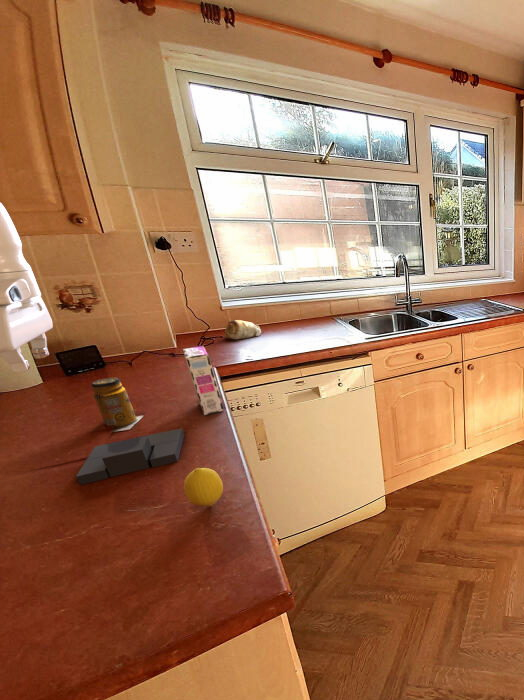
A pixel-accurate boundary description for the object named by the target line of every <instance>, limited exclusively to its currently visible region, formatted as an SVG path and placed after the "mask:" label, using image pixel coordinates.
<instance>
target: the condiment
mask: <svg viewBox="0 0 524 700" xmlns="http://www.w3.org/2000/svg"><path fill="white" fill-rule="evenodd" d="M91 387H92V390H93V398H94V400H95V402H96V405H97V407H98V410H99V413H100V415H101V417H102V420H103V422H104V425H106V426H107V427H114V428H112V430H111V433H117V432H121V431H128V430H131V429H132V428H133V427H134V426H135V425H136V424H137V423H138V422H139V421H140V420H141V419H142V418H144V415H136V413H135V411H134V408H133V406H132V403H131V400H130V398H129V395H128V391H127V390H126V388H125V387H124V386H123V384H122V382H121V380H120V378H119V377H107V378H106V377H105V378H101V379H98V380H95V381H93V382H92V383H91Z"/></svg>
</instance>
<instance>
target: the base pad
mask: <svg viewBox="0 0 524 700" xmlns="http://www.w3.org/2000/svg"><path fill="white" fill-rule="evenodd" d="M145 437H148V439H149V442H150V444H151V447H152V449H153V452H152V454H151V457H150V462H151V465H150V466H151V467H152V468H157V467H161V466H166V465H169V464H174V463H177V462H178V461H179V459H180V454H181V450H182V446H183V443H184V438H185V433H184V429H183V427H182V428H181V427H180V428H176V429H172V430H167V431H162V432H156V433H153V434H148V435H143V436H139V437H133V438H128V439H124V440H119V441H114V442H110V443H104V444H100V445H95V446H94V448H93V449H92V451H91V452H90V454H89V455H88V457H87V458H86V460H85V461H84V463H83V465H82V466H81V467H80V469H79V471H78V472H77V474H76V475H75V478H76V480H77V483H78V485H79V486H81V485H85V484H89V483H90V484H91V483H95V482H98V481H103V480H106V479H109V478H110V475H109V473H108V471H107V468H106V466H105V464H104V462H103V459H102V458H103V456H104V454H105V453H106V451H107V449H108V448H109V446H110V445H112V444H117V443H122V442H126V441H131V440H136V439H141V438H145Z"/></svg>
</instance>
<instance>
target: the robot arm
mask: <svg viewBox="0 0 524 700" xmlns="http://www.w3.org/2000/svg"><path fill="white" fill-rule="evenodd" d="M53 328H54V324H53V319H52V317H51V315H50V312H49V310H48V308H47V305H46V304H45V302H44V299H43V298H42V292H41V290H40V288H39V285H38V282H37V280H36V276H35V274H34V272H33V269H32V267H31V265H30V264H29V263H28V262H27V260H26V258H25V257H24V254H23V243H22V241H21V239H20V235H19V233H18V231H17V229H16V226H15V224H14V222H13V221H12V218H11V216H10V215H9V213H8V211H7V209H6V208H5V206H4V205H3V203H2V202H1V201H0V356H1V357H2V358H3V359H4V361H6V362H7V364H9V366H10V369H11V371H12V372H13V373H15V374H17V373H26V372H28V371H29V370H30V369H31V365H30V363H29V360H28V359H25V358H24V356H23V355H22V349H21V347H22V346H24V345H26V344H28V343H29V342H30V345H31V349H30V351H31V354H32V357H33V358H34V359H37V360H38V359H45V358H47V357H48V356H49V355H50V352H49V349H48V342H47V341H48V340H47V336H46V333H47V332H48V331H50V330H52V329H53Z"/></svg>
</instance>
